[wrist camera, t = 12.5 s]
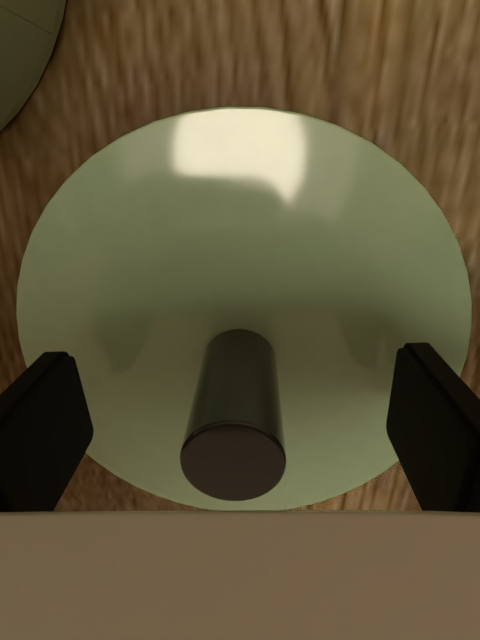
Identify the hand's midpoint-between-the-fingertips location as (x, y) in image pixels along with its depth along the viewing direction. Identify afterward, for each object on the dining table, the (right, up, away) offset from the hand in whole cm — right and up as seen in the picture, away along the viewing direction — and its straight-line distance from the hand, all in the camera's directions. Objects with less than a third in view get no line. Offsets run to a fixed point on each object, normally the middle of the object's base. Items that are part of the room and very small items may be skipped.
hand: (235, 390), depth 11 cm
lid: (0, +1, +2) cm, 2 cm away
